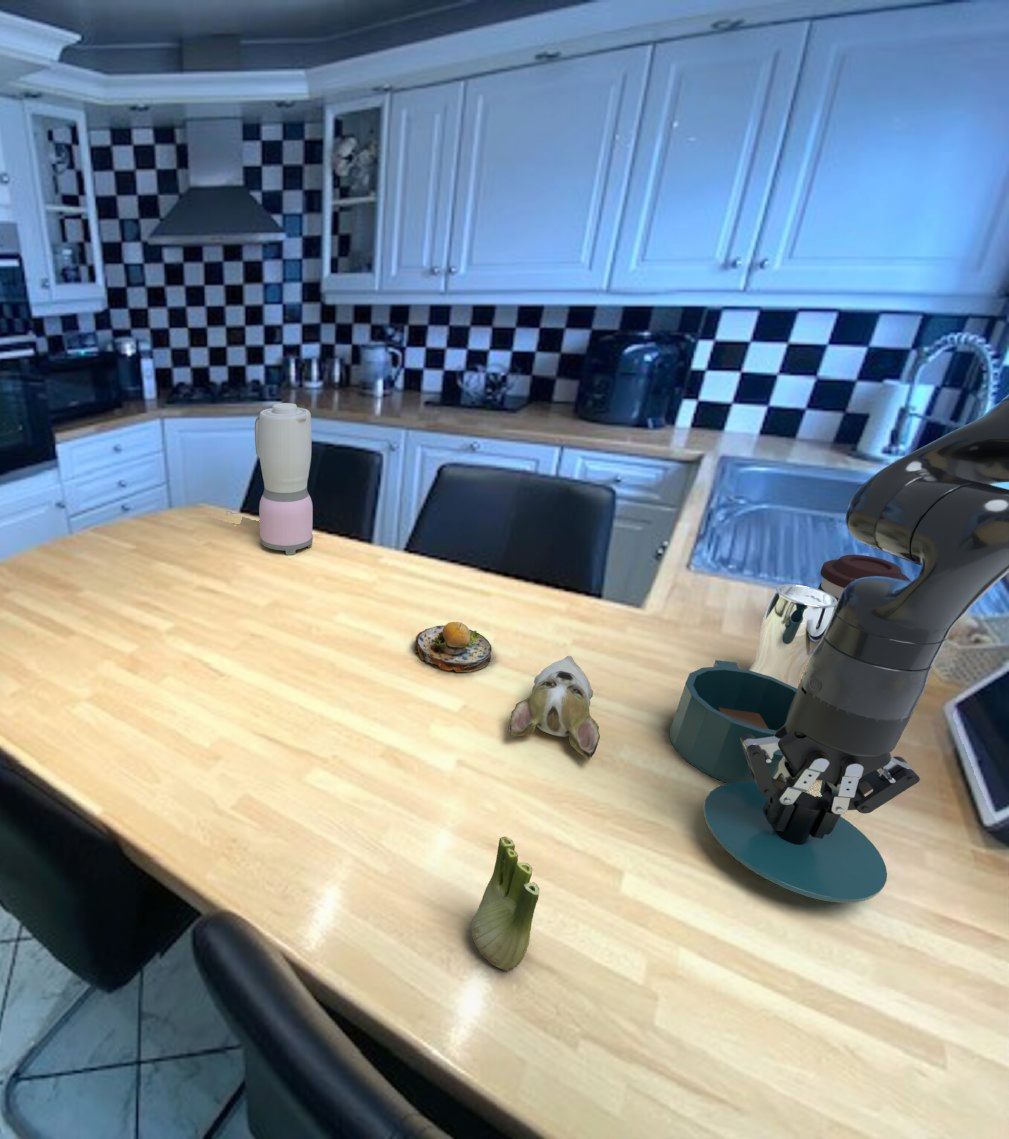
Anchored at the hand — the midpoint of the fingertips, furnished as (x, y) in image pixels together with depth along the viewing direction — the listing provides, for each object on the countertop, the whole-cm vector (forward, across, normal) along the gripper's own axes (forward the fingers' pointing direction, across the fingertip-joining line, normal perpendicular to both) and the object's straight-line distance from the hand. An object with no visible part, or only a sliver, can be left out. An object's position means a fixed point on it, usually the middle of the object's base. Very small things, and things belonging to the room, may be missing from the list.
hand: (793, 827), depth 64 cm
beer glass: (+5, -11, -35) cm, 37 cm away
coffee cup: (+5, -24, -49) cm, 55 cm away
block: (+4, -1, -17) cm, 18 cm away
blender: (+4, +74, -68) cm, 101 cm away
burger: (+4, +34, -31) cm, 46 cm away
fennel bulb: (+4, +28, +19) cm, 34 cm away
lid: (+2, 0, 0) cm, 2 cm away
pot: (+5, -1, -17) cm, 18 cm away
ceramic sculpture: (+5, +20, -16) cm, 26 cm away
